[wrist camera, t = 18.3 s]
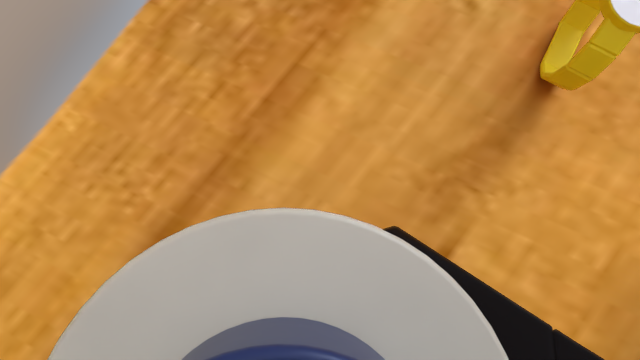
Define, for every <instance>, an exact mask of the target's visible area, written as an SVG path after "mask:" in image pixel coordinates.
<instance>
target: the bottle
mask: <svg viewBox="0 0 640 360" xmlns="http://www.w3.org/2000/svg"><path fill="white" fill-rule="evenodd" d="M47 360H509V359H508V357H507V355H506V353H505V351H504V349H503V347H502V345H501V343H500V342H499V340H498V338H497V336H496V334H495V332H494V330H493V328H492V327H491V325H490V324H489V322H488V321H487V320H486V318H485V317H484V315H483V314H482V312H481V311H480V310H479V308H478V307H477V305H476V304H475V302H474V301H473V300H472V299H471V298H470V296H469V295H468V294H467V293H466V292H465V291H464V290H463V289H462V288H461V287H460V285H459V284H458V283H457V282H456V281H455V280H454V279H453V278H452V277H451V276H450V275H449V274H448V273H447V272H446V271H444V270H443V269H442V268H441V267H440V266H439V265H437V264H436V263H435V262H434V261H433V260H432V259H430V258H429V257H428V256H427V255H425V254H424V253H422V252H421V251H419V250H418V249H416V248H415V247H413V246H412V245H410V244H409V243H407V242H405V241H404V240H402V239H401V238H399V237H397V236H395V235H393V234H390V233H388V232H386V231H384V230H382V229H380V228H378V227H376V226H374V225H371V224H368V223H365V222H362V221H359V220H356V219H353V218H350V217H347V216H344V215H339V214H334V213H329V212H324V211H319V210H313V209H296V208H271V209H257V210H248V211H243V212H238V213H234V214H229V215H224V216H219V217H216V218H213V219H210V220H207V221H205V222H202V223H199V224H196V225H193V226H190V227H188V228H186V229H184V230H182V231H179V232H177V233H175V234H173V235H171V236H169V237H167V238H165V239H163V240H161V241H159V242H158V243H156V244H155V245H153V246H152V247H150V248H148V249H147V250H145V251H144V252H142V253H141V254H139V255H138V256H136V257H135V258H133V259H132V260H130V261H129V262H128V263H127V264H126V265H125V266H123V267H122V268H121V269H120V270H119V271H117V272H116V273H115V274H114V275H113V276H111V277H110V278H109V279H108V280H107V281H106V282H105V283H104V284H103V285H102V286H101V287H100V288H99V289H98V290H97V291H96V292H95V293H94V294H93V295H92V297H91V298H90V299H89V300H88V301H87V302H86V303H85V304H84V305H83V306H82V307H81V309H80V310H79V311H78V313H77V314H76V316H75V317H74V318H73V320H72V321H71V322H70V324H69V325H68V327H67V328H66V329H65V331H64V332H63V333H62V335H61V336H60V338H59V340H58V342H57V343H56V345H55V347H54V349H53V350H52V352H51V354H50V356H49V358H48V359H47Z"/></svg>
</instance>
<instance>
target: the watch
mask: <svg viewBox="0 0 640 360" xmlns="http://www.w3.org/2000/svg"><path fill="white" fill-rule="evenodd" d="M600 11H601V12H602V15H603V17H604V18H605V19H604V20H603V22H602V23H601V24H600V26H599V27H598V29H597V30H596V31H595V33H594V34H593V36H592V37H591V38H590V40H589V42H587V43H586V44H585V45H584V46H583V47H582V49H581V50H580V51H579V52H578V53H577V54H576V55H575V56H574V57H573V55H574V53H575V50H576V48H577V46H578V44H579V42H580V40H581V38H582V36H583V33H584V32H585V31H586V29H587V28H588V27H589V26H590V24H591V23H592V22H593V20H594V19H595V18H596V16H597V15H598V14H599V13H600ZM558 25H559V26H558V28H557V30H556V32H555V34H554V37H553V39H552V41H551V43H550V45H549V47H548V49H547V51H546V53H545V56H544V58H543V60H542V62H541V64H540V76H541V78H542V79H544V80H546V81H548V82H550V83H552V84H554V85H556V86H558V87H560V88H562V89H566V90H575V89H577V88H579V87H581V86H583V85H584V84H586V83H588V82H590V81H592V79H593V78H596V77H597V76H598V75H599V74H600V73H601V72H602V71H603V70H604V69H605V68H606V67H607V66H608V65H610V64H611V63H612V62H613V61H614V60H615V59H616V56H618V55H619V54H620V53H621V52H622V50H623V49H624V48H625V46H626V45H627V44H628V42H629V41H630V40H631V39H632V37H633V36H634V35H635V33H640V0H575V1H574V3H573V4H572V5H571V7H570V8H569V10H568V11H567V12H566V14H565V15H564V17H563V18H562V19H561V22H559V23H558ZM572 57H573V58H572Z"/></svg>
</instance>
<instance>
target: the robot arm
mask: <svg viewBox="0 0 640 360" xmlns="http://www.w3.org/2000/svg"><path fill="white" fill-rule="evenodd" d="M382 230H384V231H386V232H388V233H390V234H393V235H395V236H397V237H399V238H401V239H402V240H404V241H405V242H407V243H409V244H410V245H412V246H413V247H415V248H416V249H418V250H419V251H421V252H422V253H424V254H425V255H427V256H428V257H429V258H430V259H432V260H433V261H434V262H435V263H436V264H437V265H439V266H440V267H441V268H442V269H443V270H444V271H446V272H447V273H448V274H449V275H450V276H451V277H452V278H453V279H454V280H455V281H456V282H457V283H458V284H459V285H460V287H461V288H462V289H463V290H464V291H465V292H466V293H467V294H468V295H469V296H470V298H471V299H472V300H473V301H474V302H475V304H476V305H477V307H478V308H479V310H480V311H481V312H482V314H483V315H484V317H485V318H486V320H487V321H488V322H489V324H490V325H491V327H492V328H493V330H494V332H495V334H496V336H497V338H498V340H499V342H500V343H501V345H502V347H503V349H504V351H505V353H506V355H507V357H508V359H509V360H604V359H603V358H601V357H600V356H598V355H596V354H595V353H593V352H591V351H590V350H588V349H587V348H585V347H583V346H582V345H580V344H578V343H577V342H575V341H574V340H572V339H571V338H569V337H568V336H566V335H564V334H563V333H561V332H560V331H558V330H557V329H554V330H552V327H551V326H550V325H549V324H547V323H546V322H544V321H543V320H541V319H539V318H538V317H536V316H535V315H533V314H532V313H530V312H529V311H527V310H526V309H524V308H522V307H521V306H519V305H518V304H516V303H515V302H513V301H512V300H510V299H509V298H507V297H505V296H504V295H502V294H501V293H499V292H498V291H496V290H495V289H493V288H492V287H490V286H488V285H487V284H485V283H484V282H482V281H481V280H479V279H478V278H476V277H474V276H473V275H471V274H470V273H468V272H467V271H465V270H464V269H462V268H461V267H459V266H457V265H456V264H454V263H453V262H451V261H450V260H448V259H447V258H445V257H444V256H442V255H440V254H439V253H437V252H436V251H434V250H433V249H431V248H430V247H428V246H427V245H425V244H423V243H422V242H420V241H419V240H417V239H416V238H414V237H413V236H411V235H410V234H408V233H406V232H405V231H403V230H402V229H400V228H399V227H396V226H391V227H388V228H385V229H382Z"/></svg>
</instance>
